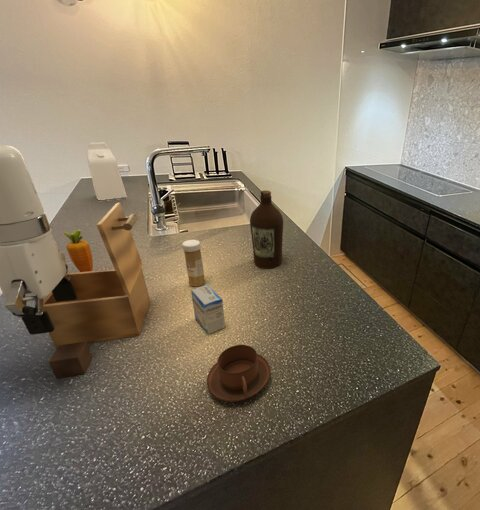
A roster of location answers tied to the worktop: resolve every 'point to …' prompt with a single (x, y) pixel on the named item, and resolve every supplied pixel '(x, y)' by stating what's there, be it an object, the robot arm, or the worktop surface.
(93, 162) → the milk
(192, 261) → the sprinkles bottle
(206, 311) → the medicine box
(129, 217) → the lid
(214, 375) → the cup and saucer
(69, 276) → the robot arm
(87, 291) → the chest
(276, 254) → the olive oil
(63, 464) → the worktop surface
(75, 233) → the carrot
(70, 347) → the block
